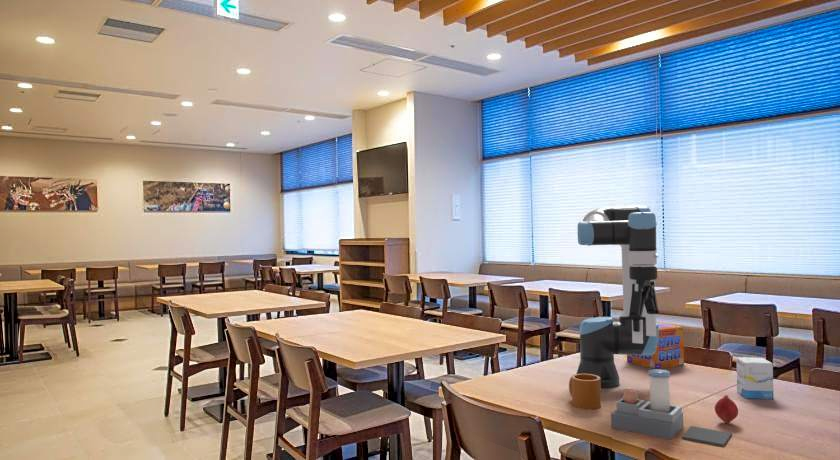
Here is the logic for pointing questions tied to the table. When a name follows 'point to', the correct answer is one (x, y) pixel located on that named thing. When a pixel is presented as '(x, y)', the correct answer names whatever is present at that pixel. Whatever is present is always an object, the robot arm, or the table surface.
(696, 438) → the pad
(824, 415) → the table surface
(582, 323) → the robot arm
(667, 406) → the cylinder
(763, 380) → the ink box
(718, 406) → the onion
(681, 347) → the game box
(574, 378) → the mug
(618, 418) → the box
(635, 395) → the salmon orange cube
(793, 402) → the table surface
